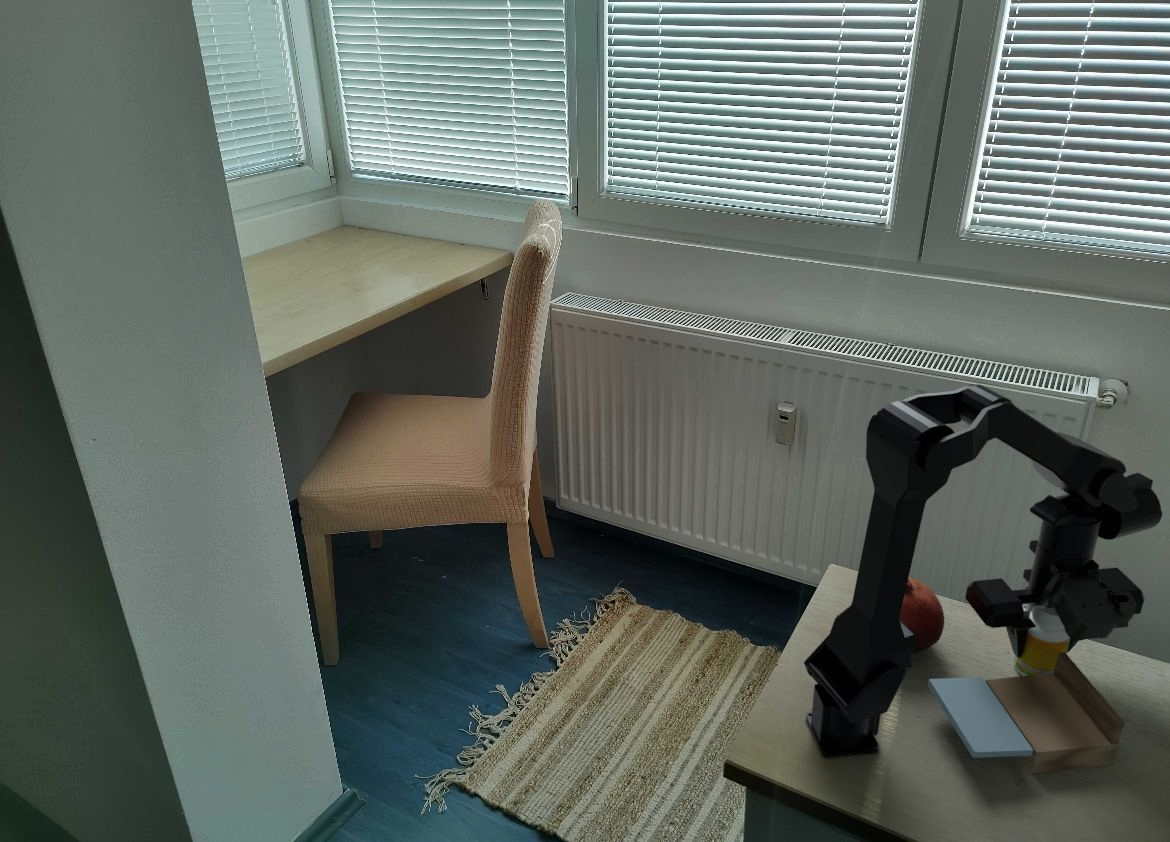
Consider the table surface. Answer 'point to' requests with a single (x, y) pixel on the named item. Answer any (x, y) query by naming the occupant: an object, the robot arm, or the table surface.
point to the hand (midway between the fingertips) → (1040, 652)
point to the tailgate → (979, 718)
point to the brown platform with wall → (1060, 718)
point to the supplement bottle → (1042, 643)
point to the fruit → (922, 614)
